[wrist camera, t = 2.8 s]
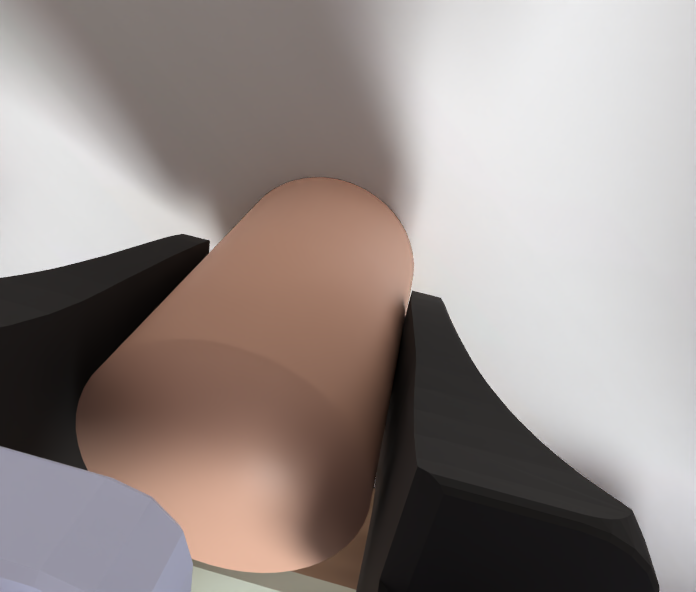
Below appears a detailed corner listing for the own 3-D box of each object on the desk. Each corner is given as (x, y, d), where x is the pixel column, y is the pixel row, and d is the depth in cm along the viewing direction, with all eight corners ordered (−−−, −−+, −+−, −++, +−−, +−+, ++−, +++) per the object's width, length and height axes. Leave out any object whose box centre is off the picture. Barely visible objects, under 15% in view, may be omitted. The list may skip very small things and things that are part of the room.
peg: (433, 201, 13) (403, 389, 7) (392, 357, 15) (342, 603, 9) (247, 157, 13) (65, 301, 7) (232, 316, 16) (83, 528, 10)
